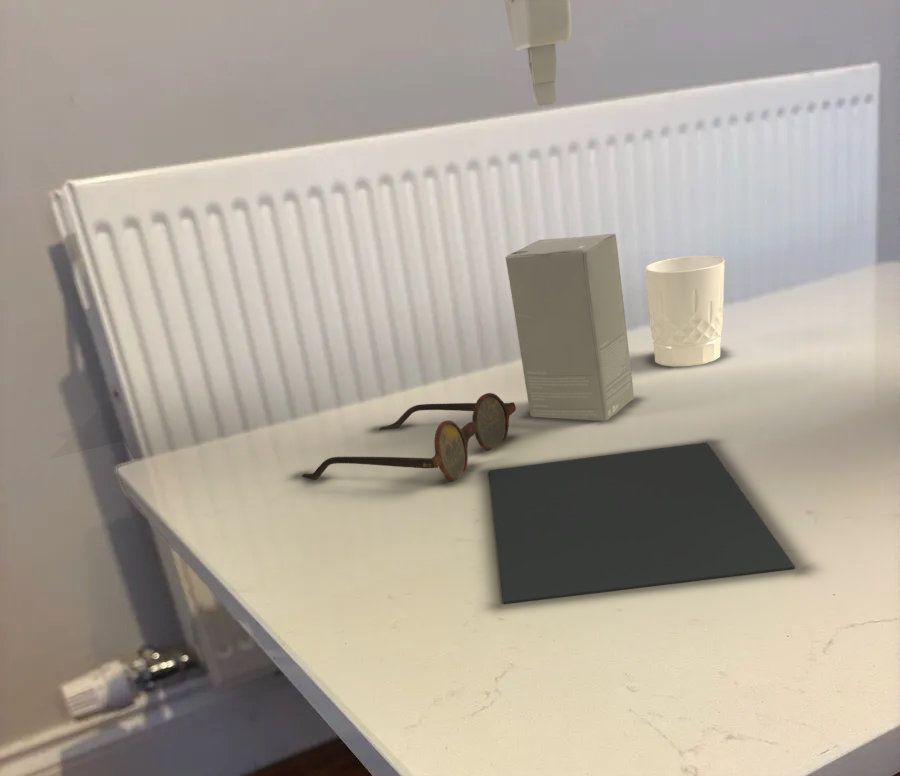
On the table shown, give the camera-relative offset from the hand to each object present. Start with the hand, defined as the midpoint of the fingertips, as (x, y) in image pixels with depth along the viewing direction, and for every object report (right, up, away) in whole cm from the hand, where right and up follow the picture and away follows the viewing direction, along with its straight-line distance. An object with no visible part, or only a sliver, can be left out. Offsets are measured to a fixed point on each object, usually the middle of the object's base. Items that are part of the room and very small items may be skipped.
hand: (545, 104), depth 93 cm
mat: (+4, -39, -18) cm, 43 cm away
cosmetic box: (+4, -27, +5) cm, 28 cm away
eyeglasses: (-12, -32, 0) cm, 35 cm away
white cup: (+16, -20, +16) cm, 30 cm away
